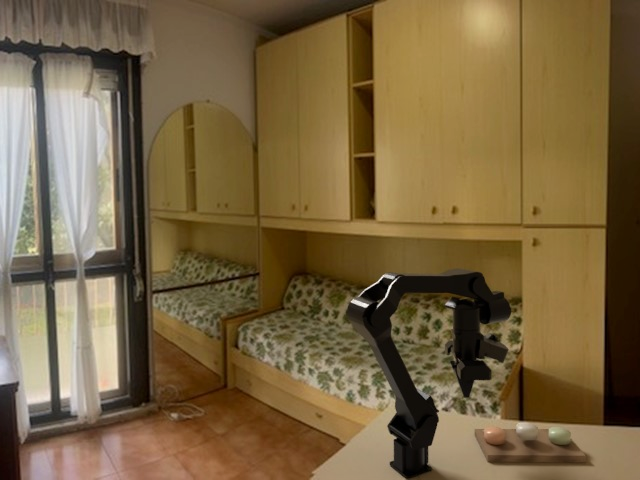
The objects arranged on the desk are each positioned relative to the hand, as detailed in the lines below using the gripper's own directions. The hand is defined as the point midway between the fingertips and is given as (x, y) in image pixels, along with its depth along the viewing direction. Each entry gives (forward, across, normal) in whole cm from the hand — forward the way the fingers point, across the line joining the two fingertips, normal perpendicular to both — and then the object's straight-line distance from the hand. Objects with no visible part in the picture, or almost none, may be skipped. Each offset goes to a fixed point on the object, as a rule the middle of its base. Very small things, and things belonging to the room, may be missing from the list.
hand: (466, 397), depth 116 cm
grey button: (+9, +1, -13) cm, 16 cm away
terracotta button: (+10, +1, -6) cm, 12 cm away
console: (+12, +1, -13) cm, 18 cm away
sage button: (+10, +1, -20) cm, 23 cm away
